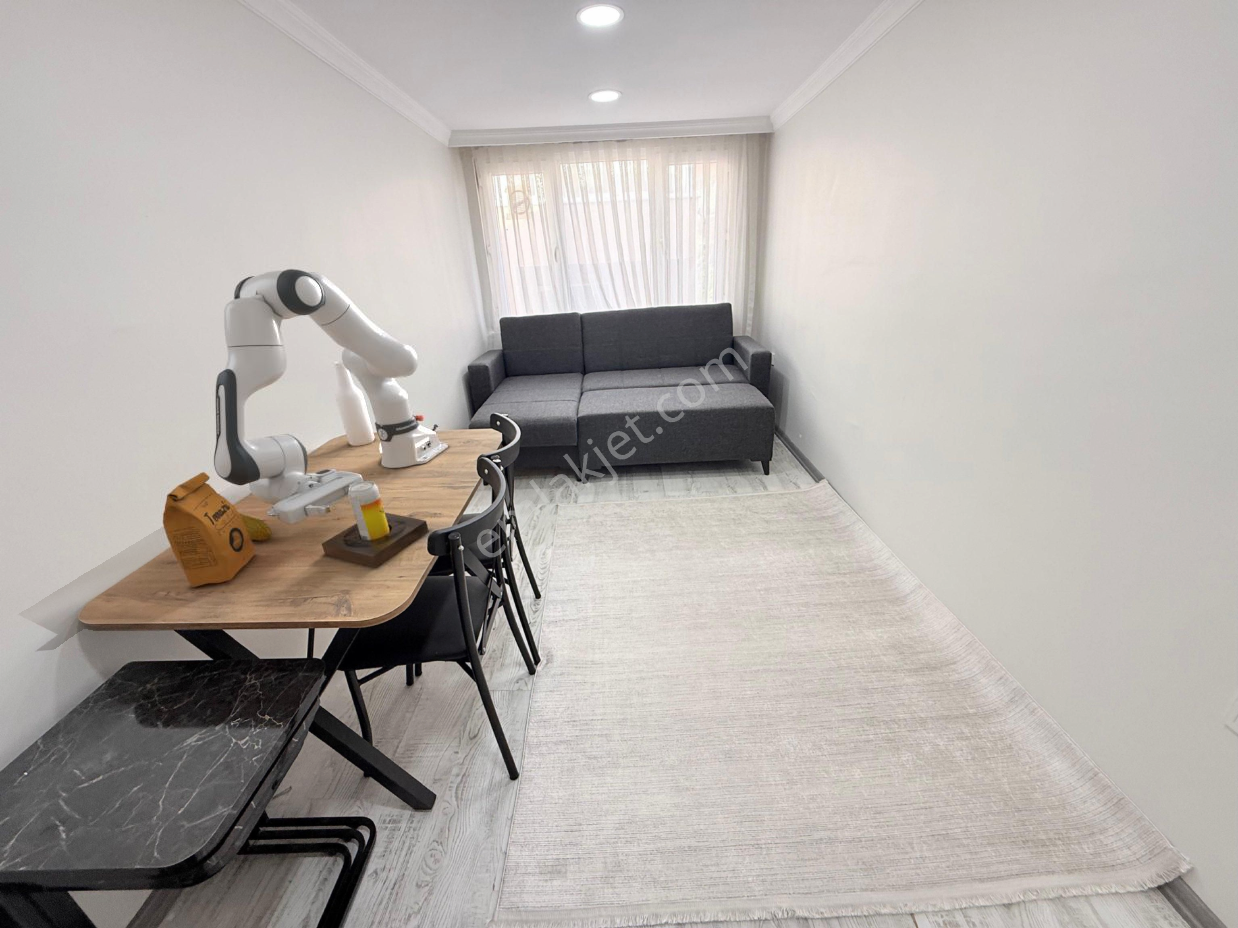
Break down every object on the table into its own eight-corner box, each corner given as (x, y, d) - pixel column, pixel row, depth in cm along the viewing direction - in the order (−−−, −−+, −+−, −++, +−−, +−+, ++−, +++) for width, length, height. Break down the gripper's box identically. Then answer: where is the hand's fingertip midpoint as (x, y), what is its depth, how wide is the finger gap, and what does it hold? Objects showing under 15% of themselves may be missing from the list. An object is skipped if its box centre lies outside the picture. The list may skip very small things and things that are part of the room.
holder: (380, 521, 126) (377, 510, 125) (428, 531, 120) (426, 520, 119) (325, 554, 113) (321, 543, 112) (376, 568, 107) (372, 556, 106)
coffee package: (266, 553, 115) (231, 467, 106) (232, 586, 103) (190, 492, 95) (221, 557, 114) (183, 470, 106) (182, 590, 103) (135, 497, 94)
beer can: (397, 537, 118) (382, 481, 112) (379, 551, 113) (363, 493, 107) (376, 534, 120) (360, 479, 114) (358, 548, 114) (340, 491, 108)
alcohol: (366, 436, 189) (344, 358, 177) (380, 440, 184) (358, 359, 173) (344, 444, 182) (320, 363, 170) (357, 447, 178) (334, 365, 166)
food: (205, 534, 125) (196, 514, 122) (228, 523, 129) (220, 503, 127) (262, 547, 117) (253, 525, 115) (284, 535, 122) (276, 514, 120)
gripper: (257, 500, 111) (299, 509, 106) (336, 465, 128) (375, 471, 123) (267, 525, 113) (308, 535, 108) (343, 487, 130) (382, 494, 125)
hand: (344, 501), depth 116 cm, fingers open, 8 cm apart
